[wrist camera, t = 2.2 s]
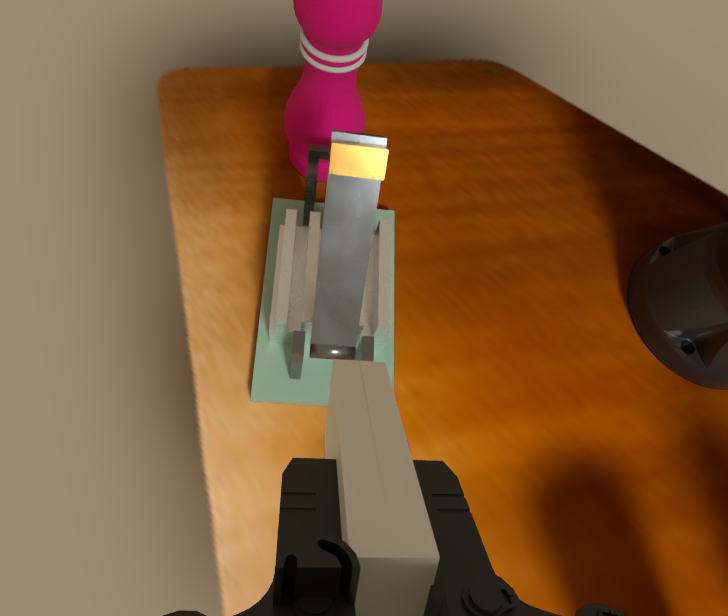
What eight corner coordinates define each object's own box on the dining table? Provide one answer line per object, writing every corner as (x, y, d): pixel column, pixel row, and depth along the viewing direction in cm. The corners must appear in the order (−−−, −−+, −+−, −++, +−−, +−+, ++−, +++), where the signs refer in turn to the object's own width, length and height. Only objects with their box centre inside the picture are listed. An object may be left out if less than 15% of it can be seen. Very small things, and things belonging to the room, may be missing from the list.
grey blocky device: (381, 384, 39) (405, 355, 31) (266, 377, 38) (262, 345, 30) (383, 214, 45) (404, 155, 37) (284, 203, 44) (284, 140, 36)
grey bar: (352, 353, 34) (354, 372, 32) (309, 350, 34) (308, 369, 32) (384, 135, 28) (389, 142, 26) (331, 128, 27) (332, 134, 25)
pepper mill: (302, 196, 46) (316, -11, 27) (271, 137, 48) (265, -94, 29) (370, 174, 48) (425, -33, 30) (338, 118, 50) (371, -108, 32)
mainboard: (390, 409, 40) (393, 406, 38) (251, 401, 38) (250, 398, 37) (391, 217, 46) (394, 210, 45) (273, 204, 45) (273, 197, 44)
